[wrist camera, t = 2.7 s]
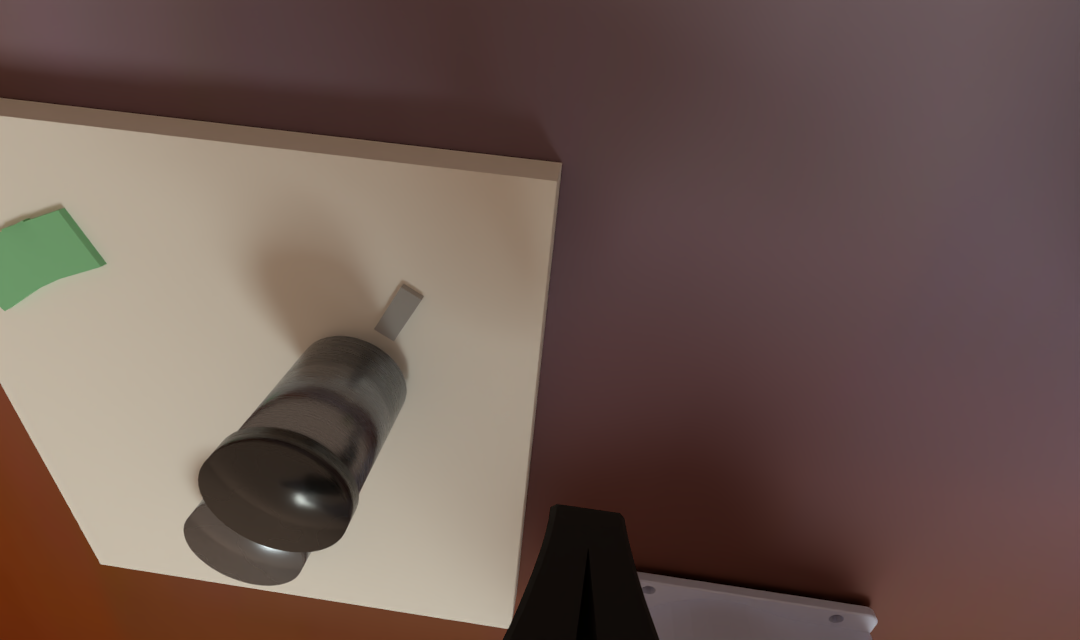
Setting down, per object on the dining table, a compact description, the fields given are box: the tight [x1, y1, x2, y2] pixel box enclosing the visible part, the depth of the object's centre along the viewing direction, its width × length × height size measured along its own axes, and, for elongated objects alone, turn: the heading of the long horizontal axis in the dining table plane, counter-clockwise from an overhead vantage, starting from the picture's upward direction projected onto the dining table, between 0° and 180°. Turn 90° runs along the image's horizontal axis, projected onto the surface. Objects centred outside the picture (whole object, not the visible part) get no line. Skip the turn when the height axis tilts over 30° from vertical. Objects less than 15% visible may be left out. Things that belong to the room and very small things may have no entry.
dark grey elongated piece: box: [183, 336, 407, 586], centre depth 15 cm, size 12×4×4 cm, turn 145°
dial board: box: [0, 98, 562, 629], centre depth 18 cm, size 17×18×2 cm
